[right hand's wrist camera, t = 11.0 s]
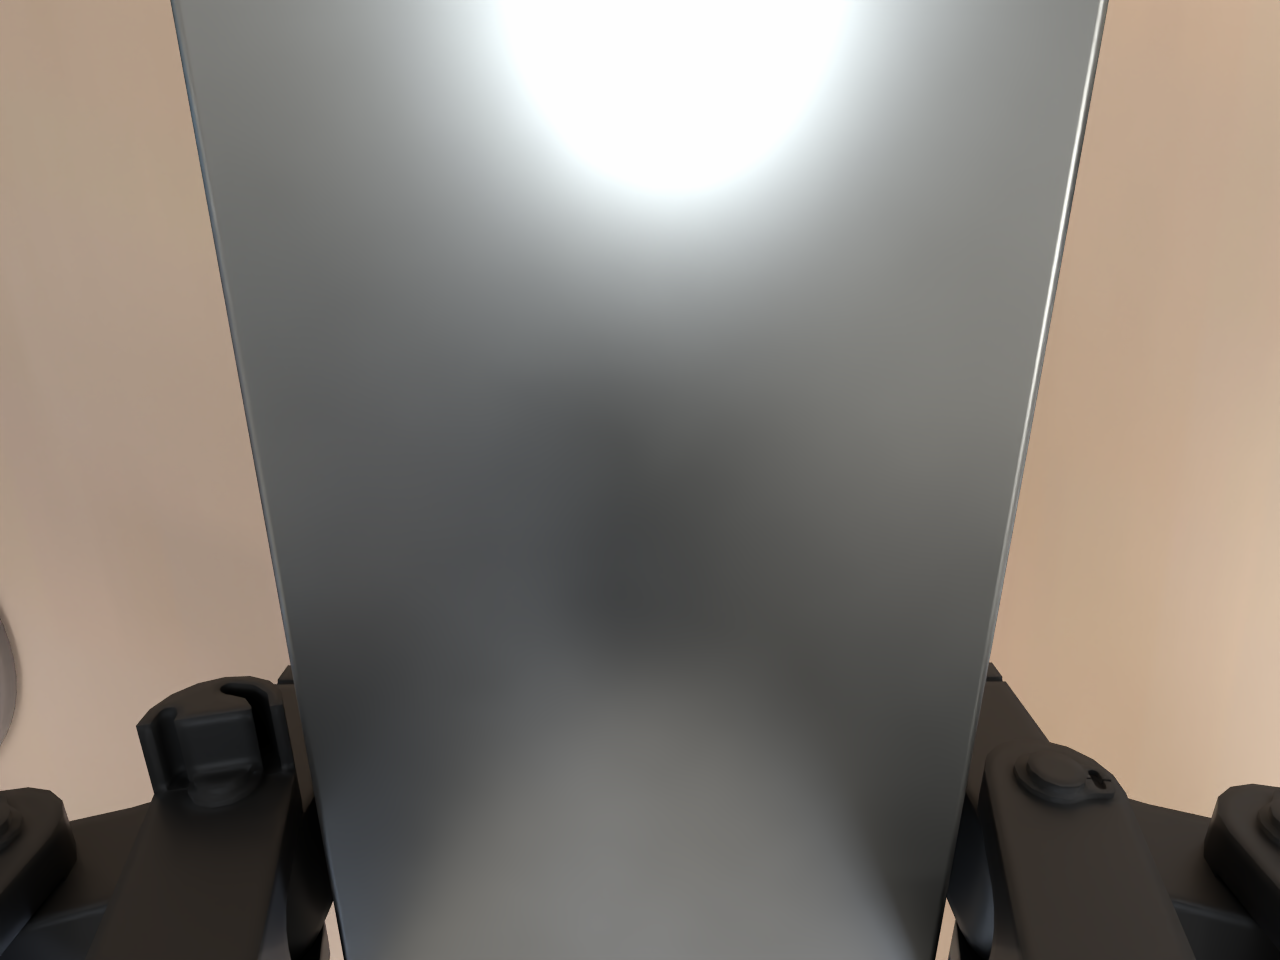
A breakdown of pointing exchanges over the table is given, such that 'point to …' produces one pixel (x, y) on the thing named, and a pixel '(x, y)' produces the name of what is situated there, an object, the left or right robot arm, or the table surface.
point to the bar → (639, 443)
